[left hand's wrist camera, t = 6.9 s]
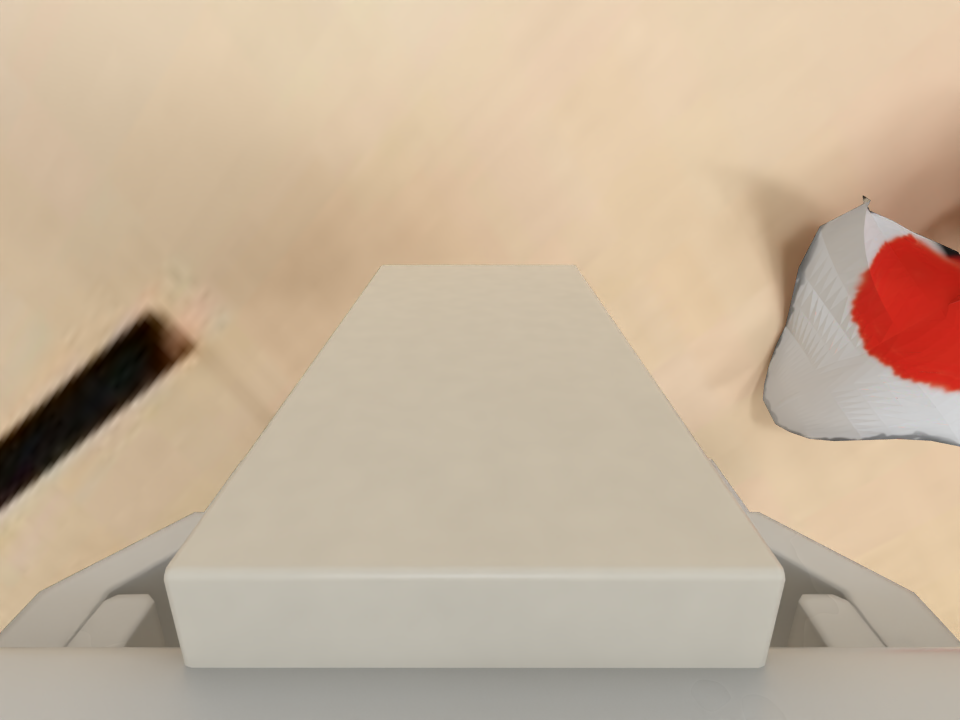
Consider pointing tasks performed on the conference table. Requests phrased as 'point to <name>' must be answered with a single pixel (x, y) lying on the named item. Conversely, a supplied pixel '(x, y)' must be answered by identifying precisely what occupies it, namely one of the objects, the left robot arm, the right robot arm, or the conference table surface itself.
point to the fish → (870, 337)
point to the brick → (475, 500)
